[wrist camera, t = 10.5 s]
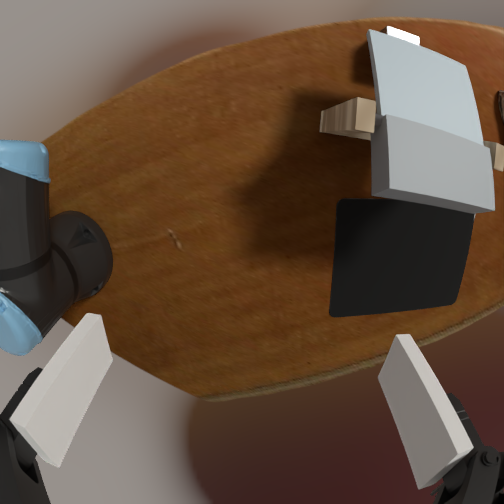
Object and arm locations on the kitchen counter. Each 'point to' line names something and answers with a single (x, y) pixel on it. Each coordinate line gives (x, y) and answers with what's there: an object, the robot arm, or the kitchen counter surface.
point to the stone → (501, 103)
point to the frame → (363, 121)
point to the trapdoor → (426, 129)
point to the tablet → (397, 256)
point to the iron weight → (400, 34)
